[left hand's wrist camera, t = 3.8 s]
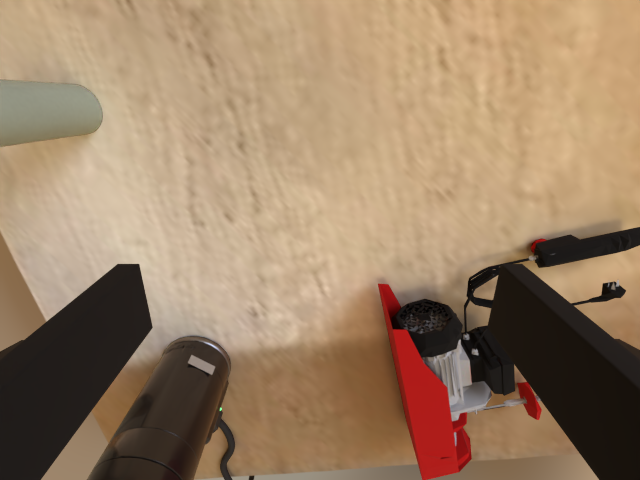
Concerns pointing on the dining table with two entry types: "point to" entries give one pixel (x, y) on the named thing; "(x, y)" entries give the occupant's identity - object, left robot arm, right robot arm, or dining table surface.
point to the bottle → (45, 111)
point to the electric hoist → (469, 356)
